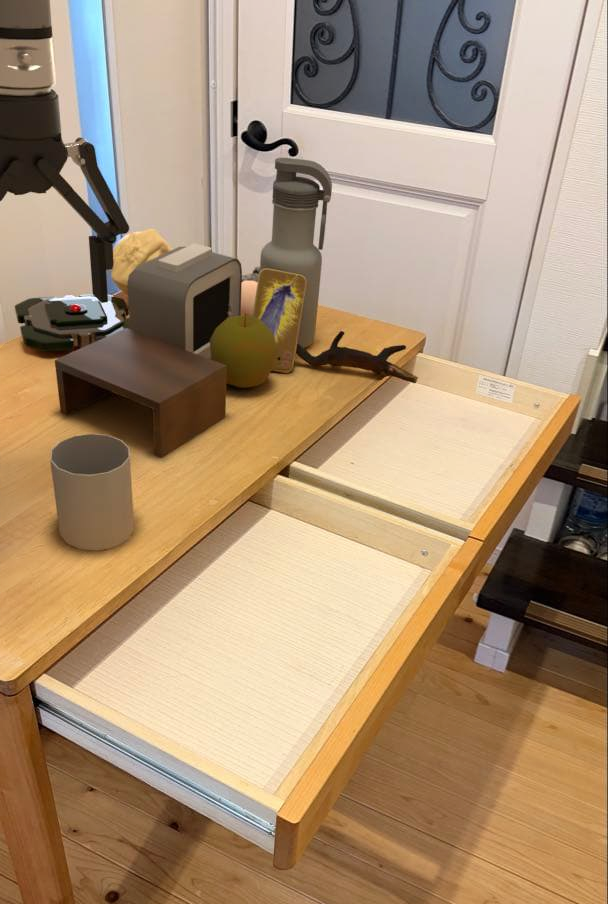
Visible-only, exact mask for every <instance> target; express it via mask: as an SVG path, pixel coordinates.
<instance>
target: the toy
mask: <svg viewBox="0 0 608 904" xmlns="http://www.w3.org/2000/svg"><path fill="white" fill-rule="evenodd" d="M344 335H345V331H342V330H340V331H339V332H338V334H337V335H336V336H335V337H334V338H333V340H332V342H331V344H330V346H329V348H328V349H326V350H324V351H322V352H321V353H319V355H318V354H317V355H316V356H315V355H312V354H311V353H310V352H309V351H307V349H305V348H303V347H301V346H300V345H299V344H298V343H297V348H296V352H295V355H297V356H298V357H299V358H300V359H301V360H302V361H304V362H305V363H307V364H308V365H309V366H311V367H313V368H316V369H317V368H320V367H322V366H327V365H328V366H332V367H335V366H339V367H344V368H345V367H347V368H354V369H361V370H365V371H371V372H372V373H374V374H375V375H377V376H379V375H381V374H382V373H383V374H384V375H385V376H386V377H393V378H397V379H400V380H402V381H406V382H408V383H409V382H410V383H412V384H417V381H418V379H419V377H418V376H416V375H414V374H413V373H410V372H408V371H406V370H405V369H402V368H401V367H400V366H398V365H396V364H394V363H393V362H390V361H388V359H389V357H391V356H392V355H394V354H395V353H400V352H401V351H404V350H407V346H406V344H405V345H404V344H401V345H391V346H388V347H384V348H383V349H382V350H380V353H378V354H377V355H375V354H372V353H370V352H368V351H365V350H359V349H357V348H356V349H355V348H350V347H347V346H338V345H339V343H340V341H341V339H343V336H344Z"/></svg>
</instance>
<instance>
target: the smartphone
mask: <svg viewBox="0 0 608 904" xmlns="http://www.w3.org/2000/svg"><path fill="white" fill-rule="evenodd" d="M305 290H306V279H305V277H304V276H303V275H300V274H295V273H289V272H284V271H279V270H274V269H268V268H265V269H262V270H261V271H260V273H259V277H258V284H257V290H256V297H255V304H254V310H253V317H256V318H258V319H260V320H261V321H263V323H264V324H265V325H266V326H267V327H268V328H269V329H270V330H271V331H272V333H273V335H274V338H275V341H276V344H277V348H278V352H277V356H276V361H275V365H274V367H273V369H272V370H271V372H277V373H283V374H288V373H290V372H291V371H292V370H293V368H294V364H295V357H296V348H297V339H298V333H299V327H300V321H301V315H302V308H303V302H304V296H305Z"/></svg>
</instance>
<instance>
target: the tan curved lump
mask: <svg viewBox="0 0 608 904" xmlns="http://www.w3.org/2000/svg"><path fill="white" fill-rule="evenodd" d="M171 250H173V248H172V246H171V245H170V244H169V243H168V242H167V240H165V239H164V238H163V237H162V236H161V234H160V233H158V231H157V230H156V229H154V228H148V229H145V230H143V231H134V232H129V234H127V235H126V234H125V236H123V237H122V238H121V239H119V240H118V241H117V243H116V244H115V245H114V246H113V260H114V265H113V268H112V269H110V270H109V273H110V276H111V280H112V281H113V282H114V284H115V285H116V287H117V288H118V290H120V291H121V292H122V293H123V294H124V295H126V296H127V297H128V284H127V283H128V278H129V274H130V273H131V272H132V271H133V270H134V269H135V268H136V267H137V266H139V265H141V264H143V263H145V262H147V261H149V260H152V259H154V258H156V257H158V256H160V255H162V254H165V253H167V252H169V251H171Z"/></svg>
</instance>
